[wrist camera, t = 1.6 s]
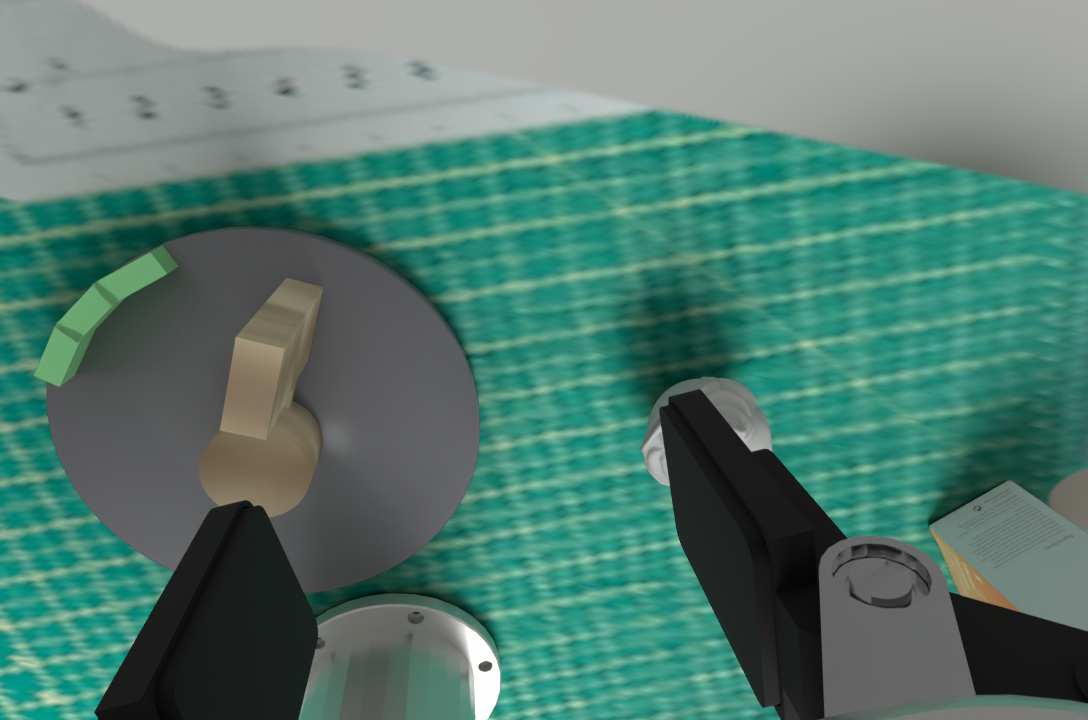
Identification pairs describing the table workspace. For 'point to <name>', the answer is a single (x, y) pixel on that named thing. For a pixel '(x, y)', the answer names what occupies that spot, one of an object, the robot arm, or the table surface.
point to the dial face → (322, 388)
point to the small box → (1017, 555)
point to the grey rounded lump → (728, 400)
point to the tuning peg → (267, 409)
